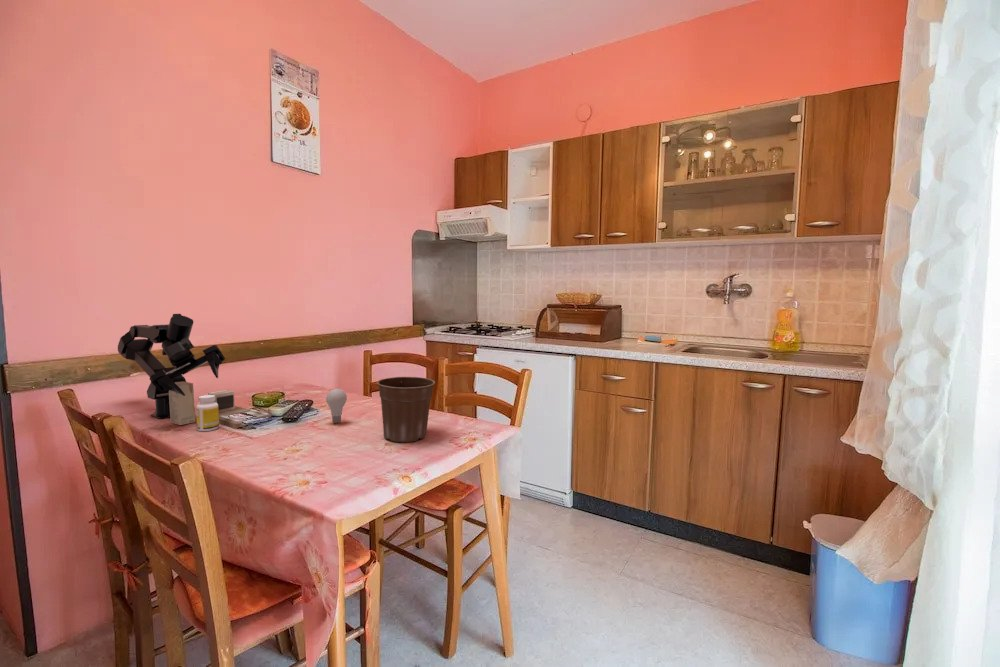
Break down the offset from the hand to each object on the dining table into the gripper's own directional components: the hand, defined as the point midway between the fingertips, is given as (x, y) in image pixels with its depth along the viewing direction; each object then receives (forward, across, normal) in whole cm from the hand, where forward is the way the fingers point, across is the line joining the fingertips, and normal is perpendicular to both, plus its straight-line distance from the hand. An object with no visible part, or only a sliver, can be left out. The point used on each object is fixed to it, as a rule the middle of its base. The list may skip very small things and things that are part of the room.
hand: (200, 385), depth 130 cm
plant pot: (+51, +35, +2) cm, 62 cm away
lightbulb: (+29, +24, +12) cm, 40 cm away
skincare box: (-2, -10, +14) cm, 17 cm away
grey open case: (+4, +2, +16) cm, 17 cm away
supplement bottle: (+8, -5, +9) cm, 13 cm away
